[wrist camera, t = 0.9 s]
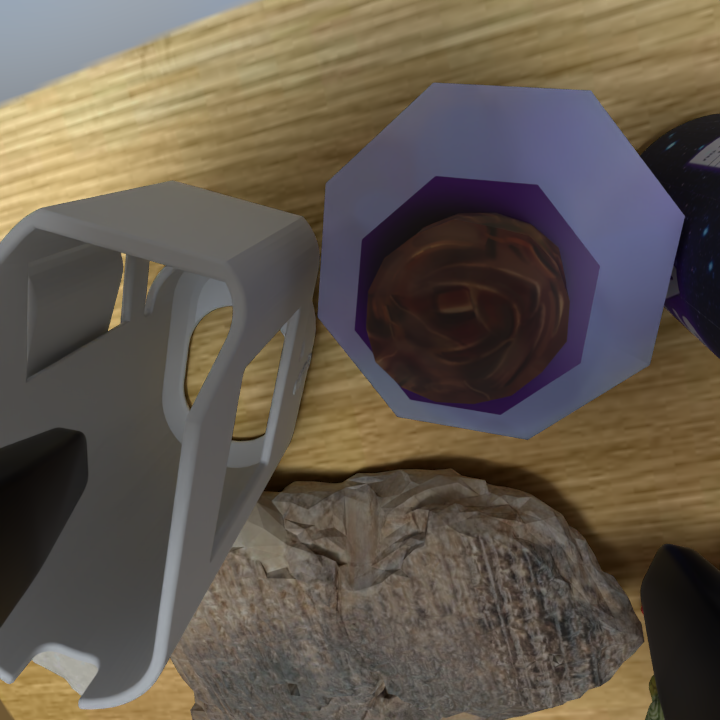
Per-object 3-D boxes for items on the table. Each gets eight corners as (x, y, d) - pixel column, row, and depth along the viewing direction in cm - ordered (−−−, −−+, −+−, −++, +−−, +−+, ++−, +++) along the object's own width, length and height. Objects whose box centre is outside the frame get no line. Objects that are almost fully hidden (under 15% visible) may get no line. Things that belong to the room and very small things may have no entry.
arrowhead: (133, 693, 33) (190, 579, 28) (111, 724, 31) (168, 608, 27) (29, 626, 33) (68, 503, 29) (2, 653, 32) (40, 527, 27)
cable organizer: (350, 208, 21) (221, 306, 10) (286, 491, 26) (151, 761, 15) (172, 160, 22) (-134, 203, 11) (142, 447, 27) (-90, 678, 16)
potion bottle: (602, 65, 18) (720, -119, 7) (659, 334, 20) (826, 524, 9) (342, 159, 21) (136, 131, 10) (411, 388, 23) (301, 585, 12)
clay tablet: (602, 418, 23) (135, 485, 27) (638, 496, 18) (71, 560, 23) (635, 688, 27) (234, 707, 32) (670, 802, 23) (198, 804, 28)
